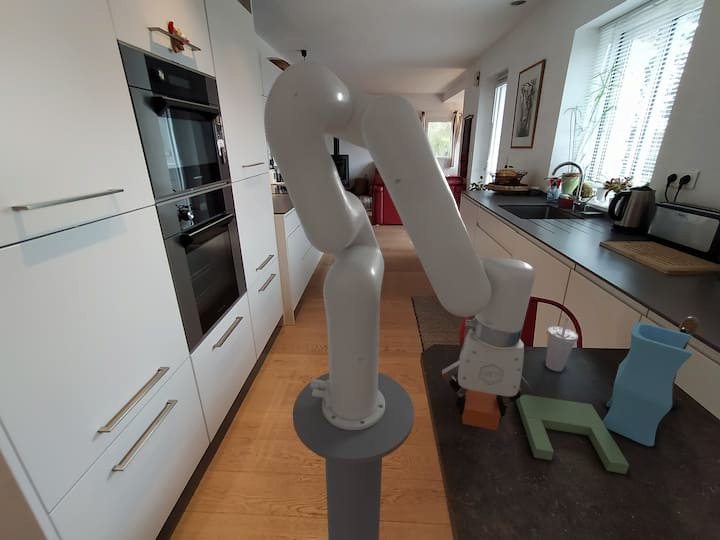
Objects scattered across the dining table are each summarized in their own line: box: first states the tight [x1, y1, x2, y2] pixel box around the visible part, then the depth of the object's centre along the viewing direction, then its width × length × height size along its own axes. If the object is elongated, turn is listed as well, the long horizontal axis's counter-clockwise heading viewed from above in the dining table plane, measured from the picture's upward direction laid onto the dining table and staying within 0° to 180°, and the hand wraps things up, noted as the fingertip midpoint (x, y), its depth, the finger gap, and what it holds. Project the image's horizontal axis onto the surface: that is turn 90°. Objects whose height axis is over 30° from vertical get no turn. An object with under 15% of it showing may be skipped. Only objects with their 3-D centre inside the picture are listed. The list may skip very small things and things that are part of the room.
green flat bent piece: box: [515, 394, 630, 475], centre depth 61 cm, size 14×14×2 cm
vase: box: [602, 321, 693, 447], centre depth 60 cm, size 8×8×20 cm
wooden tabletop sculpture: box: [671, 316, 701, 409], centre depth 66 cm, size 6×5×20 cm
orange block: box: [461, 389, 501, 431], centre depth 61 cm, size 6×6×4 cm
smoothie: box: [545, 316, 579, 372], centre depth 78 cm, size 6×6×14 cm
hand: (478, 412), depth 61 cm, fingers closed on orange block, 6 cm apart
